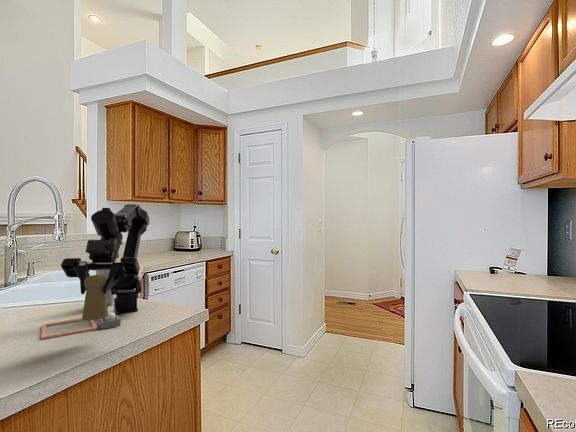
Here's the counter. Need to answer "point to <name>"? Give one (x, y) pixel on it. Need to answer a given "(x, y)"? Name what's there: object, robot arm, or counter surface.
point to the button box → (109, 322)
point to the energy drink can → (108, 295)
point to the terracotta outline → (44, 336)
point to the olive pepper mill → (95, 298)
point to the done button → (110, 316)
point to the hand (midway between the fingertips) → (93, 293)
